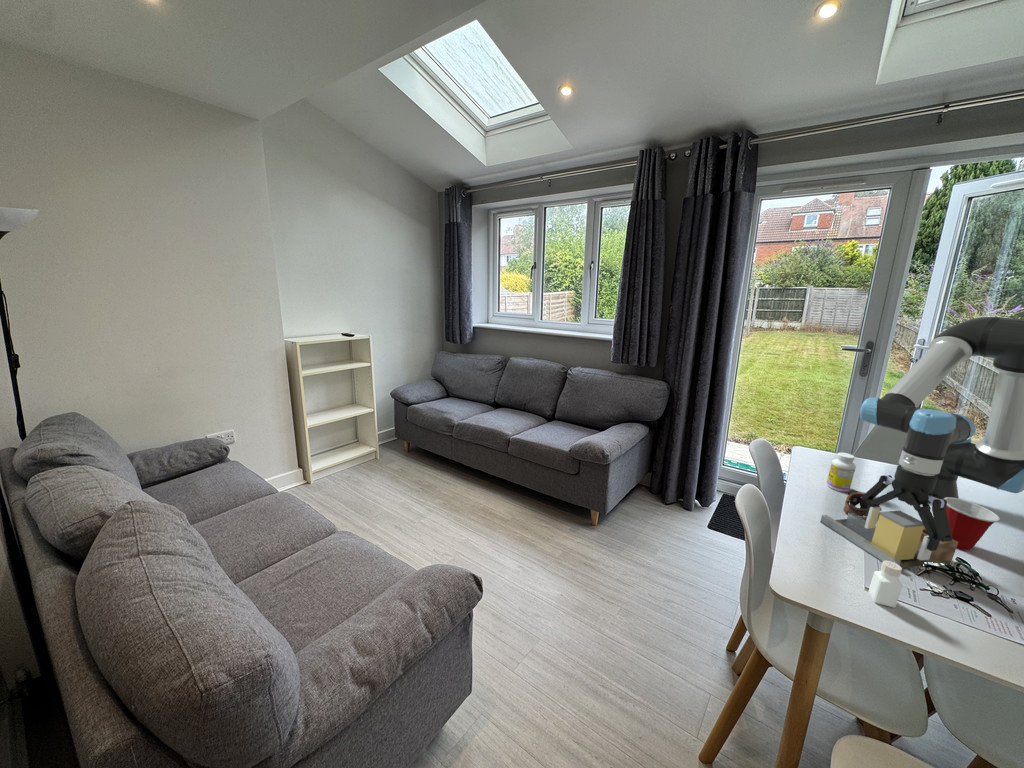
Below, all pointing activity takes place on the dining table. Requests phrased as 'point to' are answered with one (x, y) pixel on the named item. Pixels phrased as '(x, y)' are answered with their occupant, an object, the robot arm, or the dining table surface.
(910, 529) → the carriage
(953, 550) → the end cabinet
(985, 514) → the plastic cup
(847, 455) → the supplement bottle
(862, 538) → the track
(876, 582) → the white pill bottle
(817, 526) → the dining table surface
